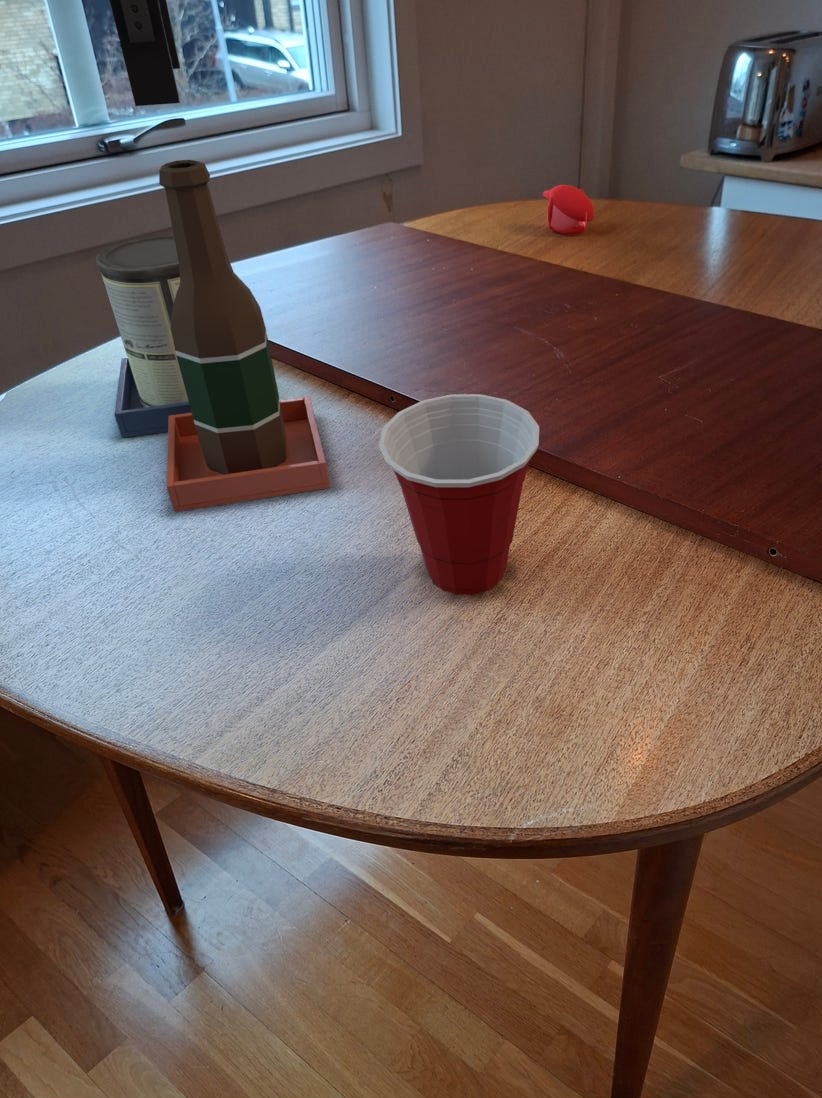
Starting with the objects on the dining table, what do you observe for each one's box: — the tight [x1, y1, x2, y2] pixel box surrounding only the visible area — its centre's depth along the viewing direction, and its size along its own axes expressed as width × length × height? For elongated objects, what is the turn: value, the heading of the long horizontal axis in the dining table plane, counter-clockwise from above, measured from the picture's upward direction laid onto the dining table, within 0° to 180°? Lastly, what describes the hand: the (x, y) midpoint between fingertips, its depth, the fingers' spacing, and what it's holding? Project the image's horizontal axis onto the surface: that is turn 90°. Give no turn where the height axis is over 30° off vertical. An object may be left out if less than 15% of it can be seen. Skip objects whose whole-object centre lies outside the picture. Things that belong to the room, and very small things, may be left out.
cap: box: [542, 184, 595, 235], centre depth 126 cm, size 8×6×6 cm
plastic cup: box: [378, 393, 540, 596], centre depth 62 cm, size 11×11×12 cm
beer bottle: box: [158, 159, 287, 475], centre depth 71 cm, size 8×8×24 cm
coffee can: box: [95, 233, 189, 408], centre depth 85 cm, size 10×10×14 cm
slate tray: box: [113, 357, 192, 439], centre depth 89 cm, size 13×13×2 cm
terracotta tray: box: [166, 395, 331, 513], centre depth 79 cm, size 13×13×2 cm
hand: (160, 85), depth 60 cm, fingers open, 13 cm apart
